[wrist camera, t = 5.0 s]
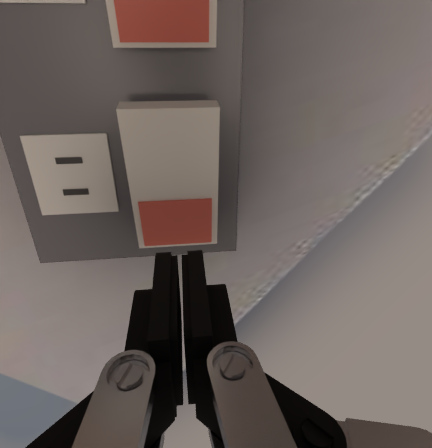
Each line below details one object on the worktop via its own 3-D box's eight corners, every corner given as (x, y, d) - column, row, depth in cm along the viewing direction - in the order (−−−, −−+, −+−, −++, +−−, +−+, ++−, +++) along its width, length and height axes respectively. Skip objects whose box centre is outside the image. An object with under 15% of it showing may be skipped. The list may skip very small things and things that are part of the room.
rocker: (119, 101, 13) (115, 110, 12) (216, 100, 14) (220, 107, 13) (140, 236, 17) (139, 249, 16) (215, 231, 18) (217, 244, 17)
